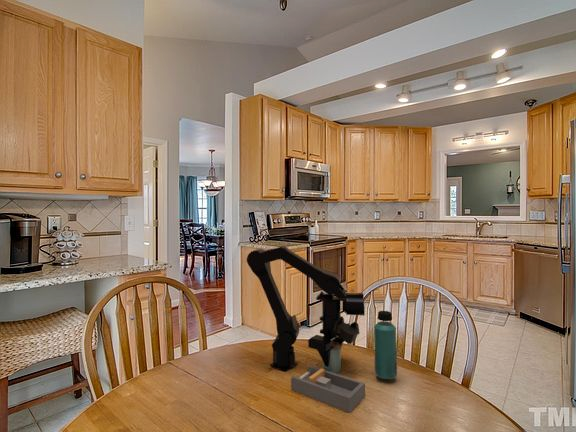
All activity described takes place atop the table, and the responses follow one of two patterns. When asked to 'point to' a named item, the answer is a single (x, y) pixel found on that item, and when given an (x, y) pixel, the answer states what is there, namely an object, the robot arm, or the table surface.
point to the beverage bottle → (385, 347)
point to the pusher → (320, 379)
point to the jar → (334, 359)
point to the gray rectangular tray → (330, 389)
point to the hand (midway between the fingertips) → (331, 362)
